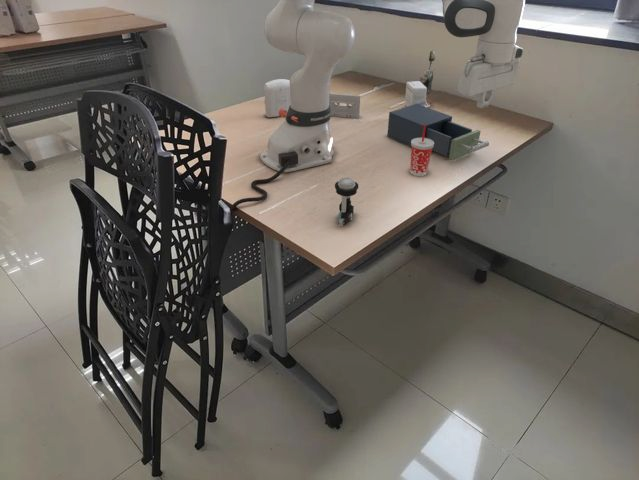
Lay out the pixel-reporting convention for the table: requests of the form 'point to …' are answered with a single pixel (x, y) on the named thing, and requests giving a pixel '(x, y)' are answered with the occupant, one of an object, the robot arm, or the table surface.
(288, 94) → the photo printer
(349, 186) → the push button
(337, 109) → the cassette
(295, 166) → the robot arm
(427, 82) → the plant with pod
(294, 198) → the table surface
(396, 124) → the cabinet
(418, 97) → the ink box
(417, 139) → the beverage cup
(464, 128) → the drawer
